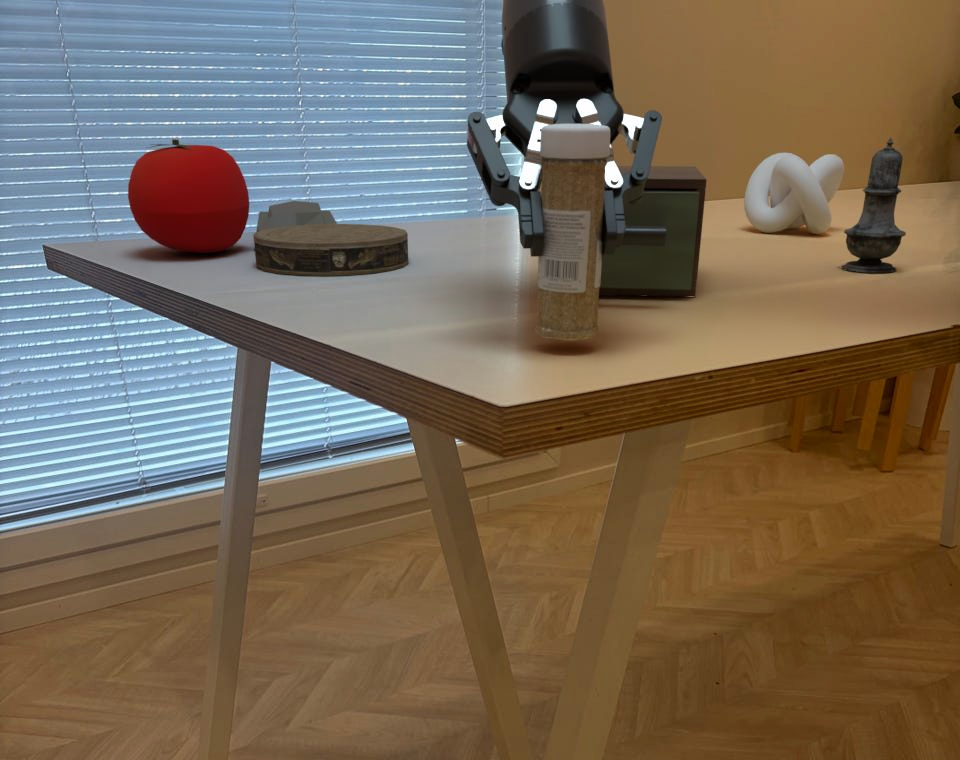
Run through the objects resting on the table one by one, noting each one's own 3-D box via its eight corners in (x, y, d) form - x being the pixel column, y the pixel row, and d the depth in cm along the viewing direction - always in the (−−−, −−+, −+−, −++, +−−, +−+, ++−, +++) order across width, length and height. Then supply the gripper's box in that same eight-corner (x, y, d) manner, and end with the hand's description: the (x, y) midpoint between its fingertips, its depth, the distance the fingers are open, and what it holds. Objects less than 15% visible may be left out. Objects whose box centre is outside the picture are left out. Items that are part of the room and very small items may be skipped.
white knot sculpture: (730, 234, 128) (738, 155, 124) (751, 224, 138) (760, 150, 133) (823, 239, 124) (835, 157, 120) (838, 228, 133) (850, 152, 129)
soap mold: (254, 250, 116) (250, 217, 114) (256, 228, 133) (253, 199, 132) (345, 248, 118) (343, 215, 116) (336, 227, 135) (334, 198, 133)
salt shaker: (872, 275, 101) (896, 140, 95) (825, 267, 105) (845, 137, 100) (911, 270, 104) (936, 138, 98) (864, 262, 108) (885, 136, 102)
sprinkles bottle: (610, 334, 73) (624, 124, 67) (573, 345, 70) (584, 126, 64) (558, 325, 76) (568, 122, 69) (520, 335, 73) (526, 124, 66)
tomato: (280, 252, 115) (270, 138, 110) (173, 266, 107) (156, 143, 101) (218, 241, 123) (205, 135, 117) (112, 254, 114) (94, 139, 109)
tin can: (247, 256, 112) (244, 227, 111) (388, 249, 117) (387, 221, 115) (267, 279, 99) (263, 246, 98) (425, 271, 103) (425, 239, 102)
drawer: (693, 300, 85) (703, 198, 81) (556, 297, 86) (559, 196, 82) (682, 265, 101) (690, 179, 97) (566, 263, 102) (569, 178, 98)
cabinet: (695, 297, 91) (706, 179, 86) (553, 294, 92) (556, 177, 88) (686, 271, 104) (696, 166, 99) (561, 268, 105) (565, 165, 100)
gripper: (457, -1, 70) (470, 212, 65) (664, -2, 70) (692, 208, 66) (454, 87, 77) (466, 285, 72) (643, 86, 78) (667, 281, 73)
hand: (574, 247), depth 69 cm, fingers closed on sprinkles bottle, 4 cm apart
